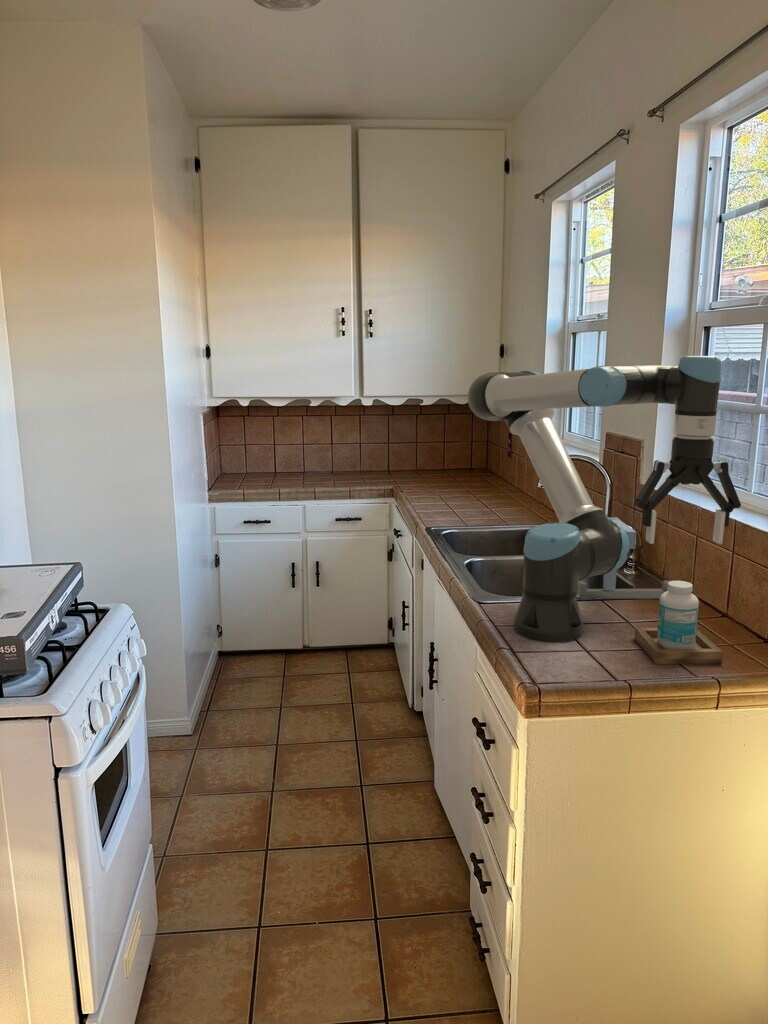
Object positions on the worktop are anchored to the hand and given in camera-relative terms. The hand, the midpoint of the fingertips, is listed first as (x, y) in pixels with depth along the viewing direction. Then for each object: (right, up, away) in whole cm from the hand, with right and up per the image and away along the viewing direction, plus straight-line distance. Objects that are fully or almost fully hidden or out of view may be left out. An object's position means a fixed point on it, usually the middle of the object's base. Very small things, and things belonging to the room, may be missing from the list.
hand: (683, 542), depth 147 cm
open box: (0, -23, +4) cm, 23 cm away
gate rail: (+1, -16, +38) cm, 41 cm away
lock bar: (-4, -15, +31) cm, 34 cm away
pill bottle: (0, -22, +4) cm, 22 cm away
